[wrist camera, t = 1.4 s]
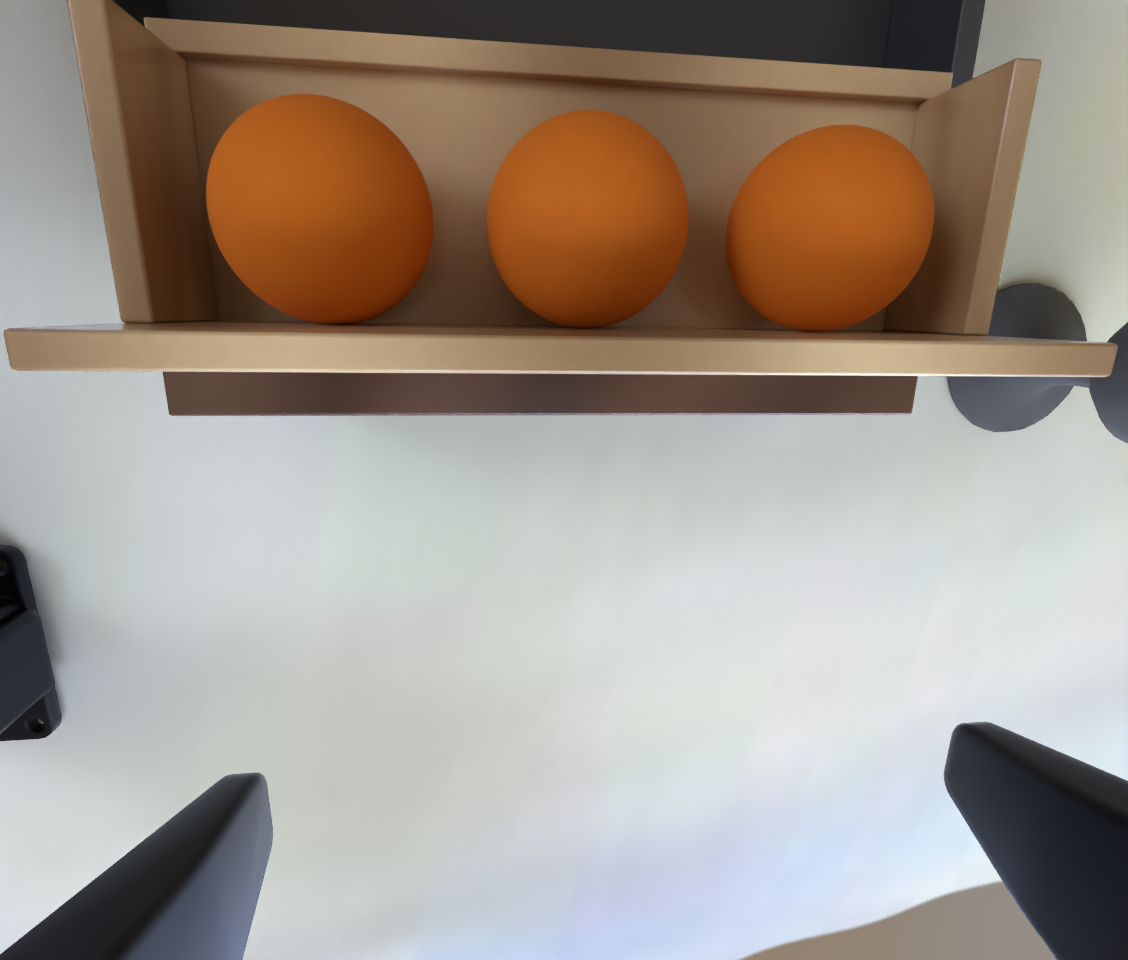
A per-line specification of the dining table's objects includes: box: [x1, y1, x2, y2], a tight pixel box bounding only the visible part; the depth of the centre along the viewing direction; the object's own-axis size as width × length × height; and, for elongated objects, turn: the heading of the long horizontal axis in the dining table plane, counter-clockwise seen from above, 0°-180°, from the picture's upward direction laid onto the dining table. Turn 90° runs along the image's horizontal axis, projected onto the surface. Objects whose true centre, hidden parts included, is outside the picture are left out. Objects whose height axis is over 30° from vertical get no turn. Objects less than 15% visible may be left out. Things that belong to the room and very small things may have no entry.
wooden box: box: [4, 0, 1118, 377], centre depth 10 cm, size 15×6×6 cm, turn 89°
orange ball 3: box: [725, 125, 934, 332], centre depth 11 cm, size 4×4×4 cm
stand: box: [163, 371, 918, 416], centre depth 16 cm, size 17×7×6 cm, turn 89°
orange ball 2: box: [487, 110, 689, 328], centre depth 11 cm, size 4×4×4 cm
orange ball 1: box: [206, 94, 433, 325], centre depth 10 cm, size 4×4×4 cm
